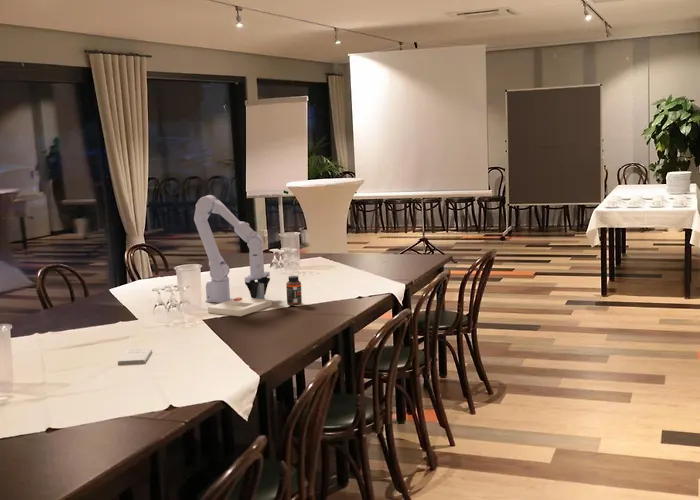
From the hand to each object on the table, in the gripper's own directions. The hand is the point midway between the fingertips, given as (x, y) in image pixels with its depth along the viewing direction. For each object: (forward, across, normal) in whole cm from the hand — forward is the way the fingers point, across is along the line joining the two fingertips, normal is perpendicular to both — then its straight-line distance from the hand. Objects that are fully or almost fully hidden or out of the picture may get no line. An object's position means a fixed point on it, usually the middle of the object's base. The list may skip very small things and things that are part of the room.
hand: (258, 296), depth 321 cm
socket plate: (+2, -16, -3) cm, 16 cm away
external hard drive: (+2, -84, -15) cm, 85 cm away
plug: (+2, 0, 0) cm, 2 cm away
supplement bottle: (+2, 0, -18) cm, 18 cm away
